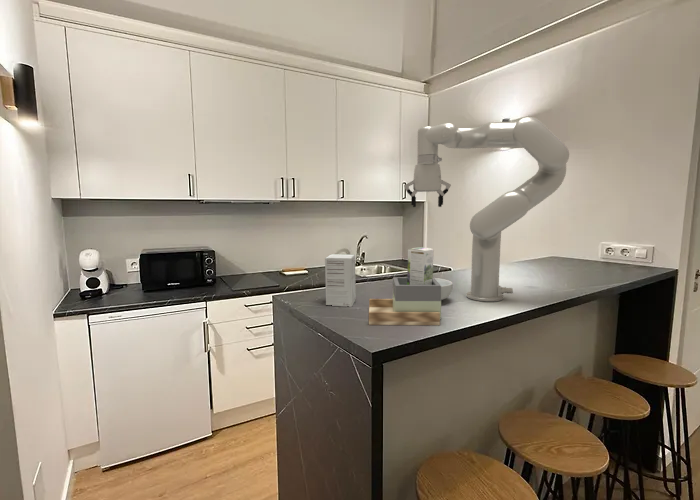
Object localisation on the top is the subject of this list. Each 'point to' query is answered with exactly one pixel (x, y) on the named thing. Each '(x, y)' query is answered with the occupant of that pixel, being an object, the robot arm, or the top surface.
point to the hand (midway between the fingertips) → (427, 206)
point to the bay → (398, 315)
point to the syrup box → (420, 266)
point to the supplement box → (340, 279)
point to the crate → (416, 296)
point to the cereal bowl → (445, 287)
